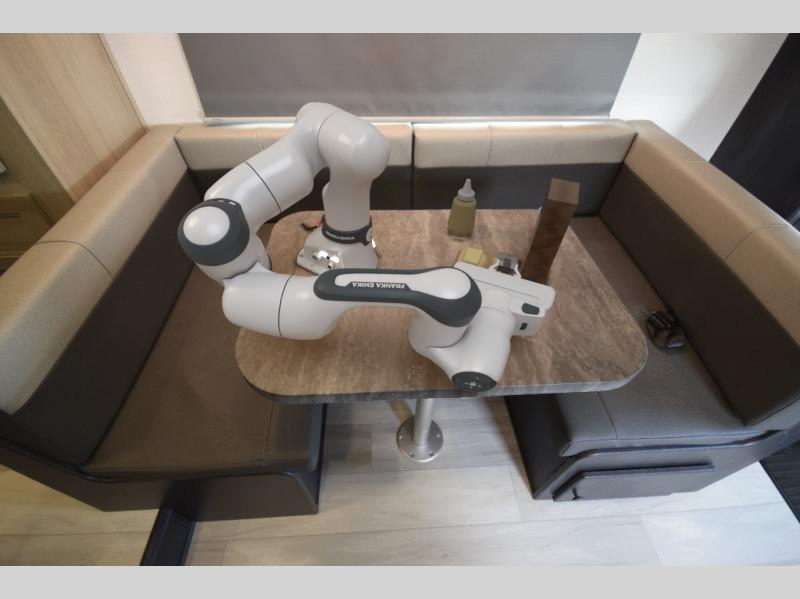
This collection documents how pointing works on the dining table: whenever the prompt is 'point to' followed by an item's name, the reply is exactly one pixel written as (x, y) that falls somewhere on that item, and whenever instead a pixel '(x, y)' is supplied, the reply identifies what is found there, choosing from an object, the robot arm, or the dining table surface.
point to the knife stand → (550, 229)
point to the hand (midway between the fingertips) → (507, 264)
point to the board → (485, 260)
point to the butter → (473, 256)
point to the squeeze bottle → (463, 212)
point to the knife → (507, 261)
